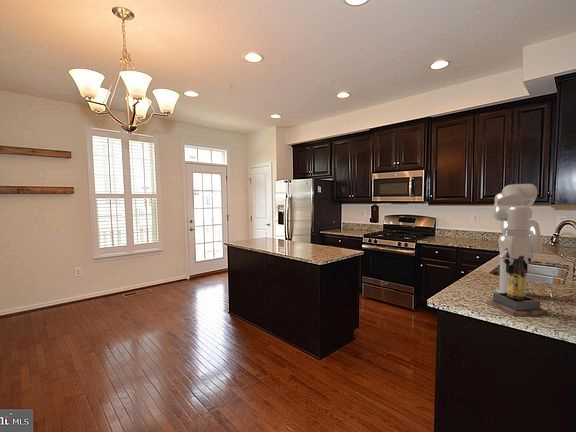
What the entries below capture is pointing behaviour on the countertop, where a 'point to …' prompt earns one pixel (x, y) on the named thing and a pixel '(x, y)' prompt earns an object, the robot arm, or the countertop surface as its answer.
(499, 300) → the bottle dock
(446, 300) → the countertop surface
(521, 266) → the sauce bottle
